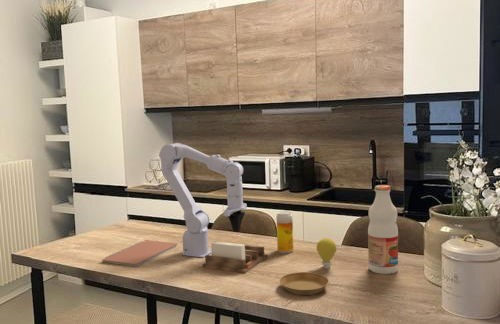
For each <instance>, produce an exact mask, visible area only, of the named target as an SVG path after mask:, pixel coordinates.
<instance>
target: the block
mask: <svg viewBox="0 0 500 324" xmlns="http://www.w3.org/2000/svg"><path fill="white" fill-rule="evenodd" d="M245 245H246V244H244V243H234V242H226V241H225V242H223V241H212V242H210V246H211V247H210V248H211V249H210V250H211V251H212V253H211V256H219V257H227V258H235V259H244V260H245ZM245 264H246V263H245Z"/></svg>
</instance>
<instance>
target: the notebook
mask: <svg viewBox="0 0 500 324" xmlns="http://www.w3.org/2000/svg"><path fill="white" fill-rule="evenodd" d="M178 245H179V243H178V242H170V241H169V242H168V241H159V240H149V239H148V240H144V241H140V242H137V243H135V244H133V245H131V246H130V245H129V246H127V248H124V249H121V250H119V251H117V252H115V253H114V252H113V253H112V254H109V255H107V256H105V257H104V258H103V259H102V263H105V264H112V265H122V266H129V267H133V268H134V267H135V268H137V267H139V266H141V265H143V264H145V263H147V262H150V261H151V260H153V259H155V258H158V257H159V256H161V255H163V254H165V253H167V252H169V251H171V250H173V249H175V248H177V247H178ZM176 246H177V247H176ZM174 247H175V248H174ZM172 248H173V249H172ZM170 249H171V250H170ZM168 250H169V251H168ZM166 251H167V252H166Z"/></svg>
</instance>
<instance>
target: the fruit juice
mask: <svg viewBox="0 0 500 324" xmlns="http://www.w3.org/2000/svg"><path fill="white" fill-rule="evenodd" d="M391 189H392V188H391V186H390V185H386V184H380V185H379V184H378V185H375V186H374V191H375V197H374V200H373V203H372V204H371V205H370V206H369V208H368V213H367V214H368V218H369V224H368V227H367V237H368V238H367V240H368V241H367V242H368V245H367V247H368V257H367V258H368V269H369V271H371V272H373V273H376V274H379V273H380V275H390V274H391V273H392V274H394V273H397V272H398V271H399V269H398V268H399V229H398V224H397V219H398V209H397V208H396V206H395V205H394V204H393V202H392V199H391V196H390V192H391Z"/></svg>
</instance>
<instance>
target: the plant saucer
mask: <svg viewBox="0 0 500 324" xmlns="http://www.w3.org/2000/svg"><path fill="white" fill-rule="evenodd" d="M329 283H330V280H329V278H327V276H325V275H323V274H321V273H320V274H319V273H316V272H307V271H299V272H293V273H288V274H286V275H283V276H281V277H280V278H279V284H281V286H282V287H283V288H284V289H285V290H287V292H289V293H291V294H293V295H294V294H295V295H300V296H301V295H302V296H308V295H315V294H318V293H320V292H322V291H323V290H324V289H326V287H327V286H328V285H329Z"/></svg>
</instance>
